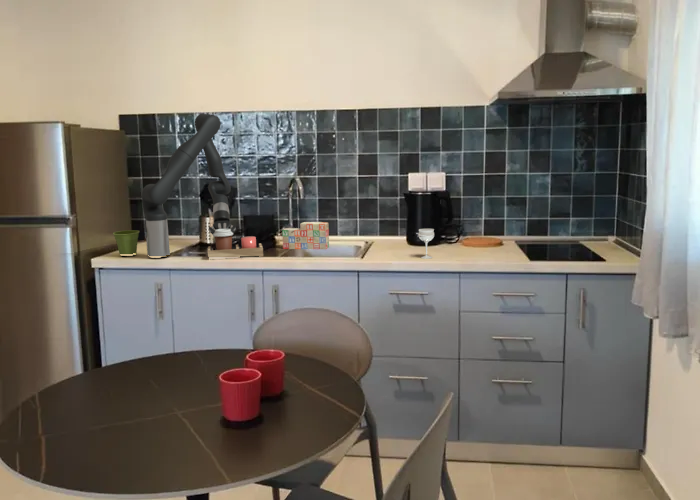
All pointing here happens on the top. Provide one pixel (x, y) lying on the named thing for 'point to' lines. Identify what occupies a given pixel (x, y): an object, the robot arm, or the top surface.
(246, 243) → the red rounded block
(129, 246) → the plant pot
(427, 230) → the wineglass
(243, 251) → the oak rack
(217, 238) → the coffee cup
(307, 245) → the stack of blocks
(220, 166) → the robot arm
